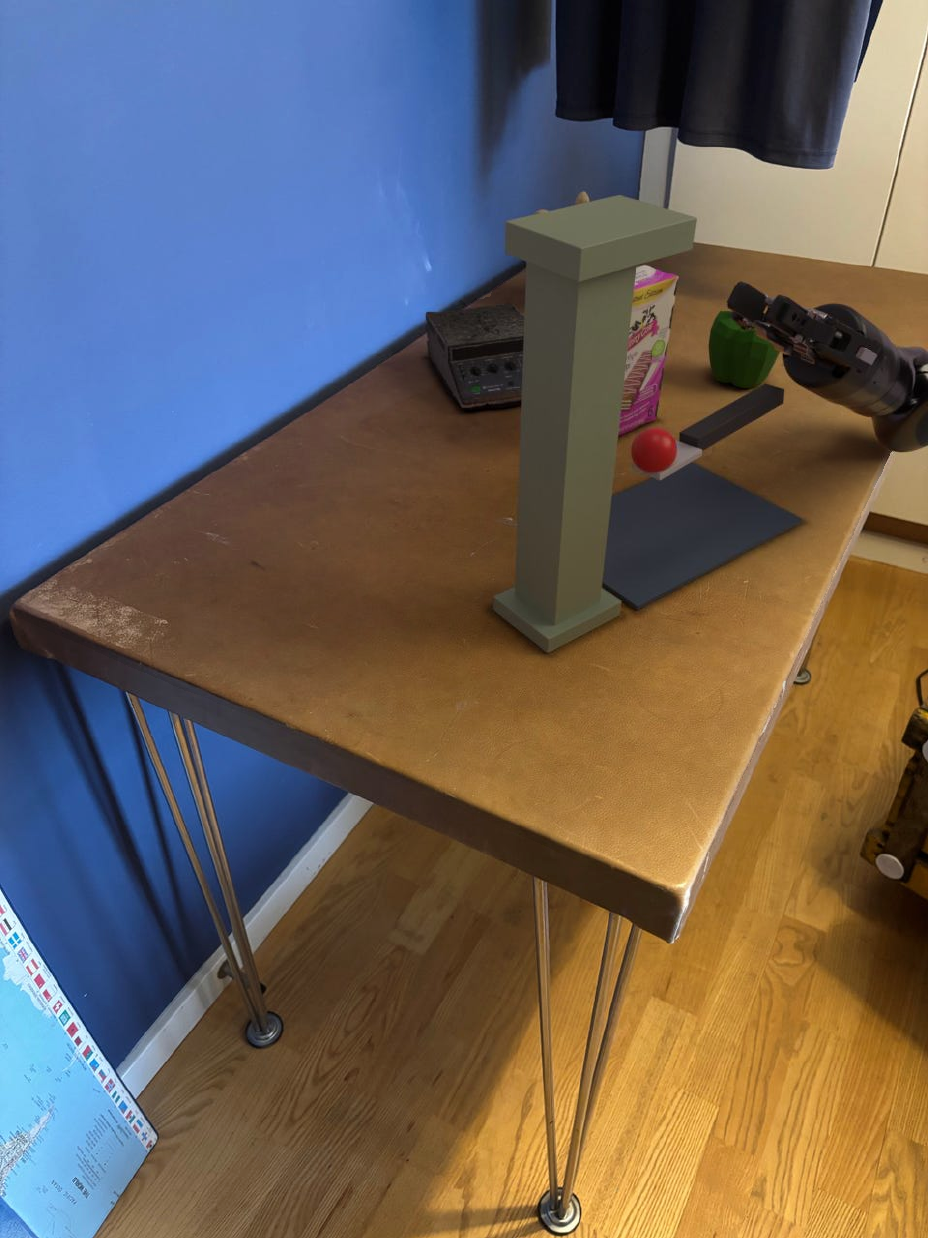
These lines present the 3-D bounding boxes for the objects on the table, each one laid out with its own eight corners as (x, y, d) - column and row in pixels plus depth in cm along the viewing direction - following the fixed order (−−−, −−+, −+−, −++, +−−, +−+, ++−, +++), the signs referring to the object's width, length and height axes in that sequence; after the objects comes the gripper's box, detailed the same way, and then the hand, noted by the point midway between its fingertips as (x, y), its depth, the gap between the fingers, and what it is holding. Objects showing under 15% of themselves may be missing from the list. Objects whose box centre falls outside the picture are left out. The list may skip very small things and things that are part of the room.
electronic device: (461, 416, 105) (460, 364, 101) (425, 356, 118) (423, 309, 114) (558, 402, 107) (560, 351, 103) (512, 345, 120) (513, 298, 116)
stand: (584, 565, 81) (619, 194, 62) (641, 604, 77) (697, 217, 57) (492, 610, 76) (498, 222, 57) (547, 653, 72) (574, 249, 53)
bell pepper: (785, 377, 112) (803, 296, 105) (755, 400, 107) (773, 316, 101) (722, 360, 116) (737, 280, 110) (691, 381, 111) (704, 300, 105)
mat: (690, 465, 95) (690, 460, 95) (801, 523, 86) (802, 518, 86) (529, 536, 85) (529, 532, 85) (637, 610, 76) (637, 606, 76)
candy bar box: (591, 452, 97) (605, 299, 87) (558, 435, 100) (568, 285, 90) (660, 420, 103) (681, 273, 93) (627, 405, 106) (643, 261, 96)
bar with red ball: (757, 395, 81) (758, 357, 79) (791, 405, 79) (794, 366, 76) (622, 472, 74) (620, 432, 72) (655, 486, 72) (654, 445, 70)
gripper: (889, 424, 80) (805, 376, 68) (760, 372, 89) (665, 320, 77) (936, 343, 78) (858, 277, 66) (799, 297, 87) (707, 231, 74)
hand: (754, 301), depth 71 cm, fingers open, 3 cm apart
